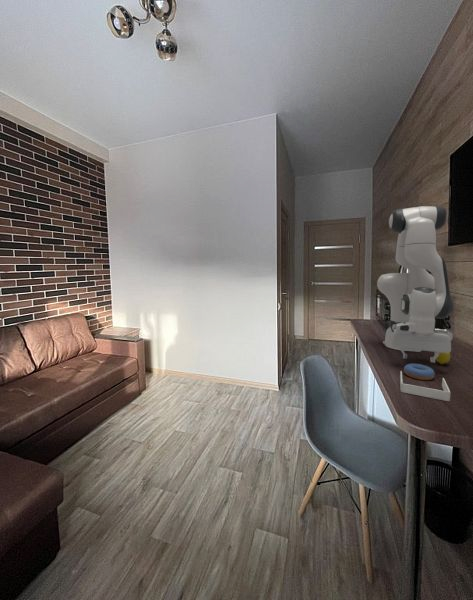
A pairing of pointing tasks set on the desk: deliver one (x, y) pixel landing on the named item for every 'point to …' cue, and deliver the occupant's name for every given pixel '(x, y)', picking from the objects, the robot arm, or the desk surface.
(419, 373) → the doughnut
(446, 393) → the box
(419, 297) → the robot arm
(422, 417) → the desk surface
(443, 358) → the lemon
